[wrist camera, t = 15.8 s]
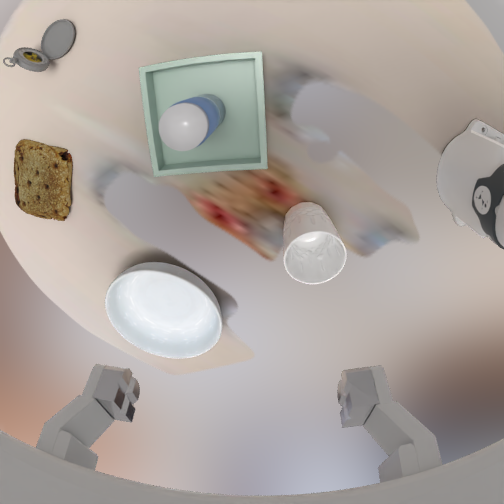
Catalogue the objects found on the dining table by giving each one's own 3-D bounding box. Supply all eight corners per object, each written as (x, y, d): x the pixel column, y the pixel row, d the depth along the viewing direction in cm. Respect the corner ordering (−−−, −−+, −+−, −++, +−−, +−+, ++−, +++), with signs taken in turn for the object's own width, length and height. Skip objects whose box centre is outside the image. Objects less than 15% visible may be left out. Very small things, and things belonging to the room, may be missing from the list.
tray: (261, 53, 32) (261, 51, 29) (267, 161, 40) (267, 168, 37) (148, 67, 33) (138, 67, 30) (161, 168, 41) (154, 176, 38)
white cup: (273, 205, 43) (276, 240, 35) (325, 191, 42) (341, 224, 34) (287, 249, 48) (292, 290, 39) (335, 237, 46) (350, 276, 38)
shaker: (223, 91, 34) (204, 98, 24) (227, 128, 37) (211, 149, 27) (185, 96, 34) (152, 107, 24) (190, 132, 37) (161, 156, 27)
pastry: (98, 193, 43) (89, 201, 41) (45, 236, 48) (37, 244, 46) (46, 111, 35) (35, 114, 33) (0, 167, 40) (-9, 173, 37)
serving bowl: (244, 320, 57) (241, 348, 51) (155, 340, 61) (147, 364, 56) (192, 230, 46) (182, 254, 40) (98, 266, 51) (82, 290, 45)
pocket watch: (80, 17, 27) (39, 11, 19) (71, 68, 32) (28, 74, 23) (42, 23, 26) (0, 23, 18) (34, 71, 31) (-8, 79, 22)
